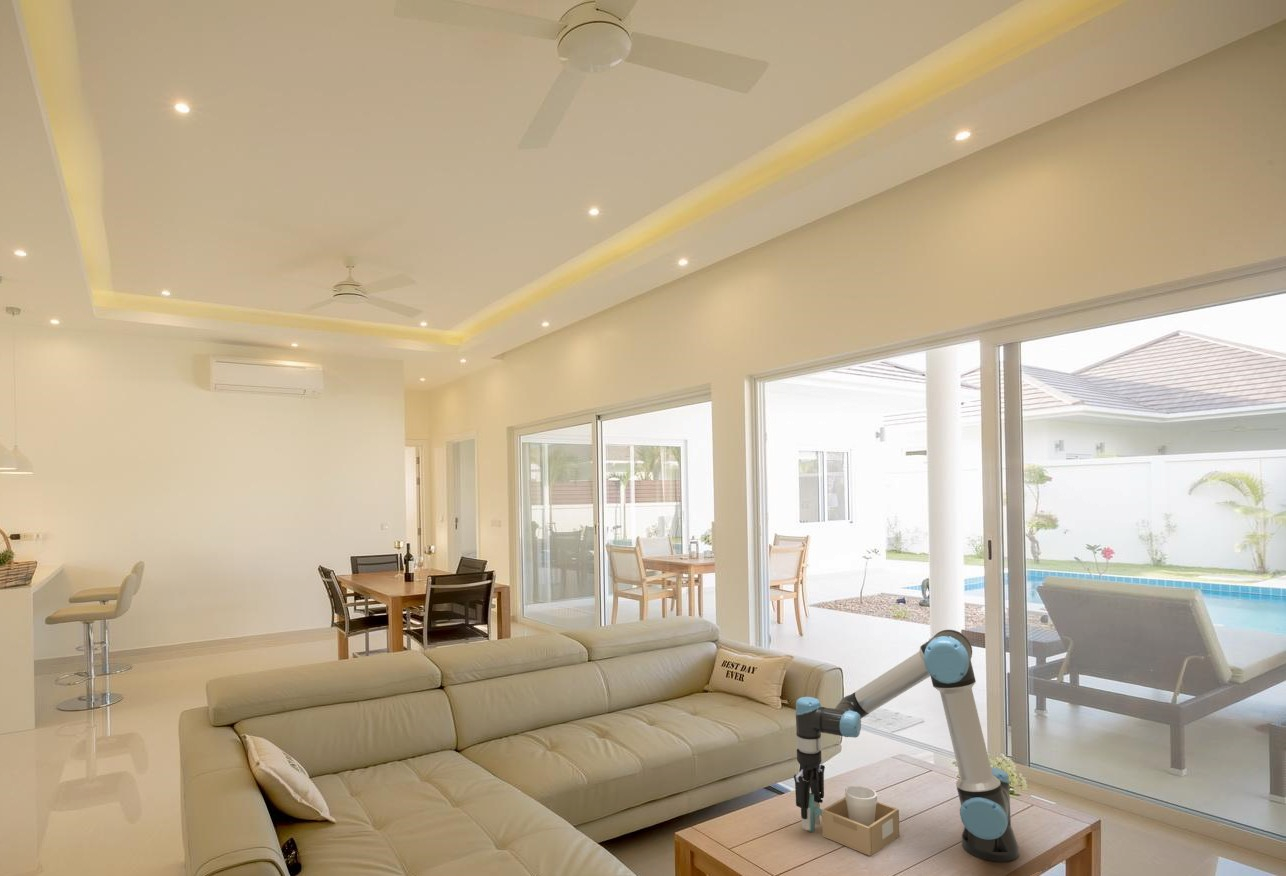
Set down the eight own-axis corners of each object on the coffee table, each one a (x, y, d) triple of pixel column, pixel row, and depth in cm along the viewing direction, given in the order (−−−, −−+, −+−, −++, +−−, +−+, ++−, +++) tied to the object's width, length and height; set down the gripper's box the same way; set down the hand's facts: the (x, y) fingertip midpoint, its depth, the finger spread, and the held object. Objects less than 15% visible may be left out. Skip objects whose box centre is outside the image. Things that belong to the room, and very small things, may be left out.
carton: (899, 836, 222) (899, 809, 222) (872, 855, 211) (871, 827, 211) (853, 818, 234) (852, 792, 234) (824, 835, 223) (824, 808, 223)
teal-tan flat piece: (872, 853, 211) (871, 815, 212) (868, 856, 210) (867, 818, 210) (809, 827, 227) (809, 792, 228) (805, 830, 226) (804, 794, 226)
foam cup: (843, 839, 220) (841, 795, 221) (849, 825, 229) (848, 783, 229) (875, 846, 216) (874, 801, 217) (880, 832, 224) (879, 789, 225)
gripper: (814, 739, 235) (816, 812, 234) (782, 753, 224) (784, 831, 223) (834, 745, 230) (836, 820, 229) (802, 760, 218) (804, 839, 217)
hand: (810, 825), depth 226 cm, fingers open, 4 cm apart
